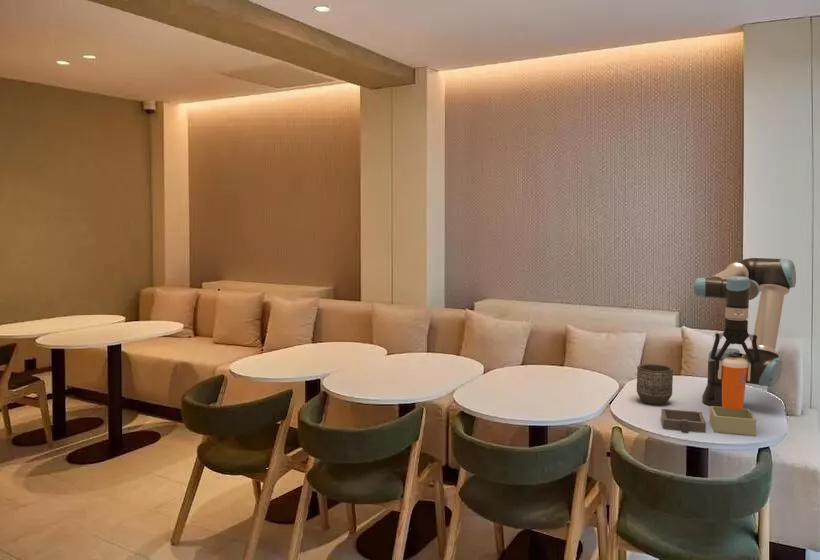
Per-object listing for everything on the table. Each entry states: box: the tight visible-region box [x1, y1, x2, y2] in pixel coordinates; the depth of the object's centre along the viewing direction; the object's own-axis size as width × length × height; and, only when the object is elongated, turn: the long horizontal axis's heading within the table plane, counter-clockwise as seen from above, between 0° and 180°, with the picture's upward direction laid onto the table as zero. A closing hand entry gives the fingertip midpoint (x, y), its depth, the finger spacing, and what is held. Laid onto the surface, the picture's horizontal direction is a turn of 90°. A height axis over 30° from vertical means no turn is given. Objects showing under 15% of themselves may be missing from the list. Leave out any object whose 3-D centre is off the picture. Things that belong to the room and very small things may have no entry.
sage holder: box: [709, 405, 757, 437], centre depth 239 cm, size 14×14×6 cm
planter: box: [636, 363, 674, 406], centre depth 274 cm, size 14×14×15 cm
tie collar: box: [660, 408, 707, 434], centre depth 243 cm, size 17×14×4 cm
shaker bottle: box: [721, 352, 748, 410], centre depth 238 cm, size 9×9×20 cm
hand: (733, 379), depth 238 cm, fingers closed on shaker bottle, 9 cm apart
